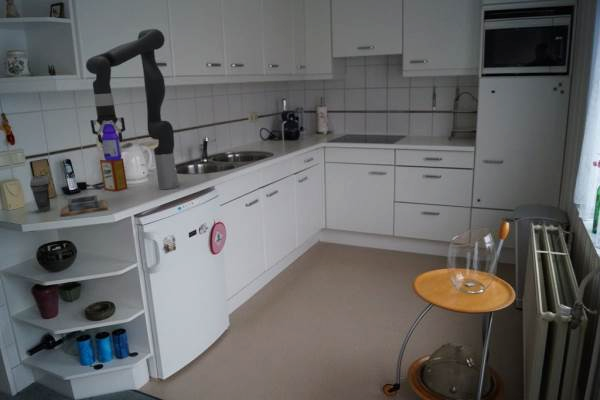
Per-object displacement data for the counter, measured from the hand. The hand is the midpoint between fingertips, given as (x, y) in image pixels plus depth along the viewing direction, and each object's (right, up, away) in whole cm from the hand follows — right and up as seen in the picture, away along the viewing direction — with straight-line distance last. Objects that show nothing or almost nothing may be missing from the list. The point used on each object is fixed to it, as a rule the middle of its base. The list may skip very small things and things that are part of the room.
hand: (110, 142), depth 212 cm
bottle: (+1, -8, +2) cm, 8 cm away
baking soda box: (-10, -20, +32) cm, 39 cm away
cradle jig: (-9, -30, -5) cm, 31 cm away
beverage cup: (-28, -30, -3) cm, 41 cm away
